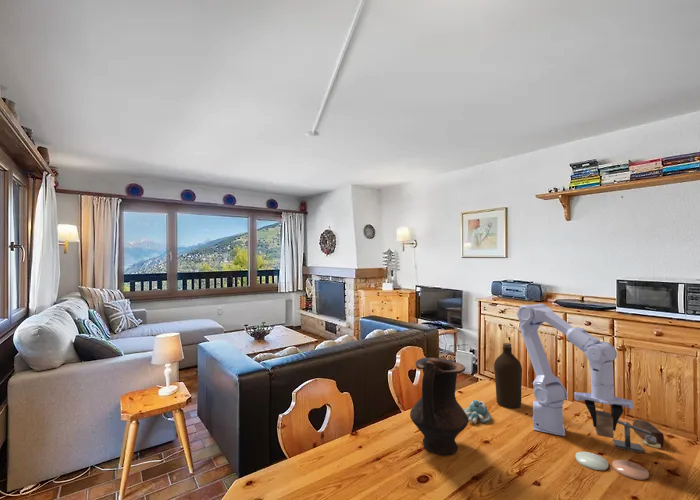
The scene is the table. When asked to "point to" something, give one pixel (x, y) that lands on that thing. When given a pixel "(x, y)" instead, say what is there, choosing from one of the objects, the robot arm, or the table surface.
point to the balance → (635, 447)
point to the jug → (439, 406)
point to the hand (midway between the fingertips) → (604, 427)
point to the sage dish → (591, 461)
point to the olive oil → (508, 378)
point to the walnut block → (604, 424)
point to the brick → (650, 428)
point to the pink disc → (630, 469)
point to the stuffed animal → (477, 412)
